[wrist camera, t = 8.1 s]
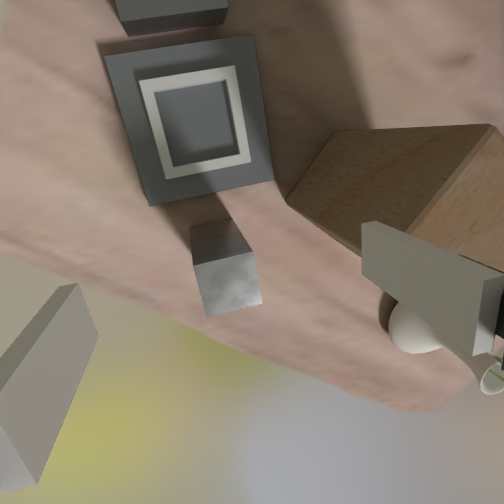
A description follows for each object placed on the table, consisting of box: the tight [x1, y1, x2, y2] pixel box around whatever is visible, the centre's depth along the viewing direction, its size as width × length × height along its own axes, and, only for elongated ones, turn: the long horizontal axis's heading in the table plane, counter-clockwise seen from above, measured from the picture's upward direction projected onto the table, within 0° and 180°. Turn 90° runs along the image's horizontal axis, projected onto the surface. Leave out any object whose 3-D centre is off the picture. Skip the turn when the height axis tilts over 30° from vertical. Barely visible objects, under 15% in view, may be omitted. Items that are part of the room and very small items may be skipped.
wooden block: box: [286, 124, 504, 272], centre depth 29 cm, size 10×10×20 cm
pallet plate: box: [104, 34, 275, 206], centre depth 31 cm, size 14×14×2 cm
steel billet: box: [190, 218, 262, 318], centre depth 32 cm, size 5×5×12 cm
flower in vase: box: [388, 302, 504, 395], centre depth 36 cm, size 13×11×25 cm
